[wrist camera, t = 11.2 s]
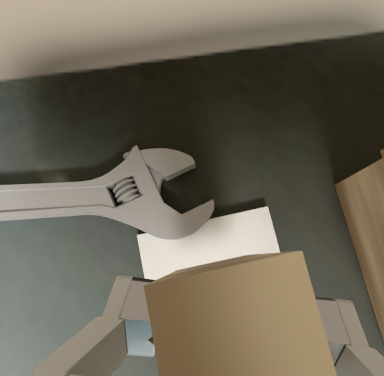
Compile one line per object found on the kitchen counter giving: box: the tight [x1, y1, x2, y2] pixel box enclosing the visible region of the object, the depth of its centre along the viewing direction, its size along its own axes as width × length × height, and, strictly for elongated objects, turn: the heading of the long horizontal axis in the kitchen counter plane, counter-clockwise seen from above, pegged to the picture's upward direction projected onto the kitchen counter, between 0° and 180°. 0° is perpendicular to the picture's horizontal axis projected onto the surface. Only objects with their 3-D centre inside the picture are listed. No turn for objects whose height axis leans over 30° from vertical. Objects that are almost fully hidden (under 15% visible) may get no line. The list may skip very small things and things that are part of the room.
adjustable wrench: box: [0, 145, 214, 240], centre depth 24 cm, size 25×6×2 cm, turn 88°
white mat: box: [137, 206, 280, 280], centre depth 22 cm, size 9×9×1 cm
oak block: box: [144, 251, 337, 376], centre depth 12 cm, size 4×4×10 cm
